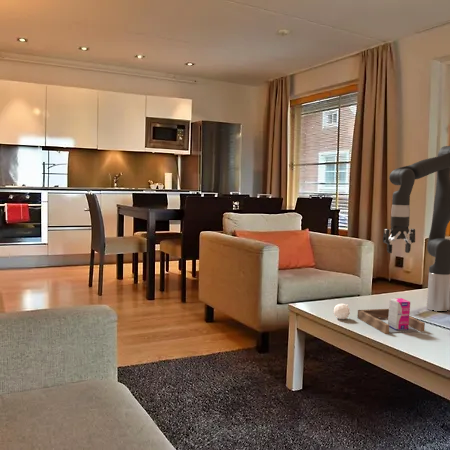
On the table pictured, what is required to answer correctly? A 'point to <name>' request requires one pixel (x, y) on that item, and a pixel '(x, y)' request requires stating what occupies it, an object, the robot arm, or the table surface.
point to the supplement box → (399, 314)
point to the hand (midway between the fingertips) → (398, 252)
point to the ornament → (341, 311)
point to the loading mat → (402, 330)
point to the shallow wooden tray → (372, 320)
